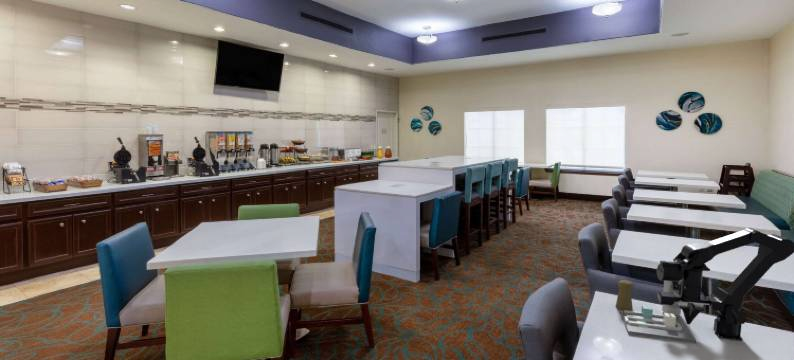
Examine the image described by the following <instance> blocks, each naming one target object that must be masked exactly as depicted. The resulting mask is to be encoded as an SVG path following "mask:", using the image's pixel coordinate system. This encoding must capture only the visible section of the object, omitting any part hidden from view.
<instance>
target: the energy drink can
mask: <svg viewBox="0 0 794 360" xmlns="http://www.w3.org/2000/svg"><path fill="white" fill-rule="evenodd" d="M681 281H682V280H680V281H678V284H680V282H681ZM662 292H671V294H672V295H673V296H678V297H680V295H679V294H678V293H677V290H671V281H663V291H662ZM661 306H662V307H661V310H662V313H663V314H664V313H671V314H674V315H675V317H676V318H679V316H680V315H681V314H682V309H680V308H679V307H678V305H677V304H676V302H674V304H673V305H663V304H661Z"/></svg>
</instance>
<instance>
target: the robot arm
mask: <svg viewBox="0 0 794 360" xmlns="http://www.w3.org/2000/svg"><path fill="white" fill-rule="evenodd" d="M754 243H757V244H758V249H757V254H756V256H754V258H752V260H751V261H750V262H749V263H748V265H747V266H746V267H745V268H744V269H743V270H742V271H741V272H740V274H738V275H737V276H736V277H735V279H734V280H733V281H732V282H731V283H730V285H728V287H725V288H723V289H722V288H721V287H720V286H719V287H717V288H715V290H714V292H712V293H711V294H709V296H706V297H705V299H704V298H703V299H702V298H701V297H702V296H701V295H702V291H703V286H702V285H703V273H704V272H710V271H711V268H709V267H708V266H707V265H706V263H708V262H710V261H712V260H713V259H714V258H715V257H717V256H718V255H720V254H723V253H726V252H729V251H732V250H735V249H738V248H742V247H744V246H747V245H750V244H751V245H752V244H754ZM793 254H794V241H793V240H791V239H789V238H786V237H784V236H782V235H781V236H780V235H778V234H777V233H776V234H775V233H773V234H766V233H763V232H761V231H760V230H757V229H754V228H752V227H748V228H747V227H746V228H744V229H743V230H739V231H736V232H734V233H732V234H728V235H725V236H723V237H719V238H716V239H713V240H711V241H707V242H694V243H689V244H688V243H687V244H685V245H684V246H682V248H681V250H680V252H679V253H678V254H677V255H676V256H675V257H674V258H673V259H672V261H666V260H659V264H658V265H657V266H656V276H657V277H656V278H658V280H659V281H660V282H661V281H663V282H664V281H671V290H677V293H678V294H679V295H680V297H678V296H673V295H672V294H671V292H663V291H660V290H659V292H657V294H656V295H657V297H656V298H657V300H658V302H659V304H660V305H673V304H674V302H676V304H677V305H678V307H679V308H680V309H681V312H682V314H683V316H684V317H683V318H684V321H685V324H686V325H691V323H692V322H693V321H694V320H695V319H696V317H697V316H698V315H699V314H700V313H701V312H705V308H704V306H710V308H711V309H713V311H714V312H715V313H716V316H715V317H716V318H714V323H713V331H714V332H715V333H716V335H717V336H718V337H719V338H722V339H730V340H739V341H743V337H742V336H741V332H742V326H743V325H744V324H745V323H746V322H747V319H748V318H747V317H746V316H745V315H743V313H742V312H741V311H740V310H741V309H742V307H743V305H744V304H743V303H744V298H745V296H746V295H747V294H748V293H749V292H750V291H751V290H752V288H754V286H755V285H756V284H757V283H758V282H759V281H760V280H761V279H762V277H764V276H765V274H767V272H768V271H769V270H770V269H771V268H772V267H773V266H774V265H775V264H777V263H781V262H783V261H785V260H787V259H788V258H789V257H791V255H793ZM685 260H686V261H685ZM680 280H682V281H681V282H680V284H678V281H680Z"/></svg>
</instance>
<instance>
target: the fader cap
mask: <svg viewBox="0 0 794 360" xmlns="http://www.w3.org/2000/svg"><path fill="white" fill-rule="evenodd" d="M663 315H664V318H663V324H664V326H669V327H675V323H676V318H677V317H675V315H674V314H671V313H664V312H663Z"/></svg>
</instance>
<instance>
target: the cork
mask: <svg viewBox="0 0 794 360" xmlns="http://www.w3.org/2000/svg"><path fill="white" fill-rule="evenodd" d="M617 287H618V289H619V290H618V294H617V296H616V298H617V299H616V303H615V307H617V308H616V309H618V310H620V311H623V312H625V310H627V311H634V310H633V308H634V307H633V297H632V290H633V289H634V288H633V287H634V285H633V282H631V281H629V280H624V279H623V280H621V279H620V280H619V281H618V282H617Z"/></svg>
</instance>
